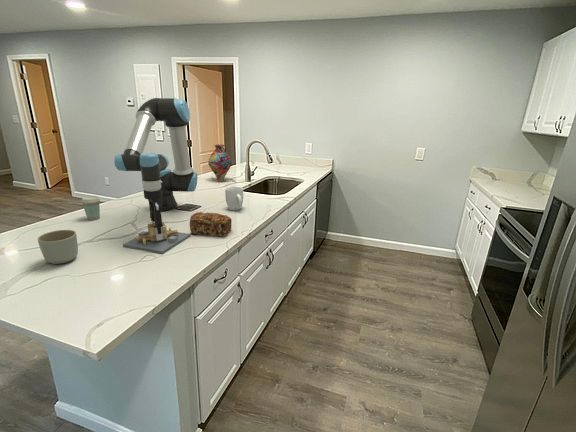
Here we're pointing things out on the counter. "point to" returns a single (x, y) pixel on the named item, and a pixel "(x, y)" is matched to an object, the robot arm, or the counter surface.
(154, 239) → the wooden frame with handle
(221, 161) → the vase
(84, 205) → the coffee cup
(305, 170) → the counter surface
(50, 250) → the planter
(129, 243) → the post base
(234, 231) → the counter surface
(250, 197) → the counter surface
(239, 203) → the mug
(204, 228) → the bread
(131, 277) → the counter surface
